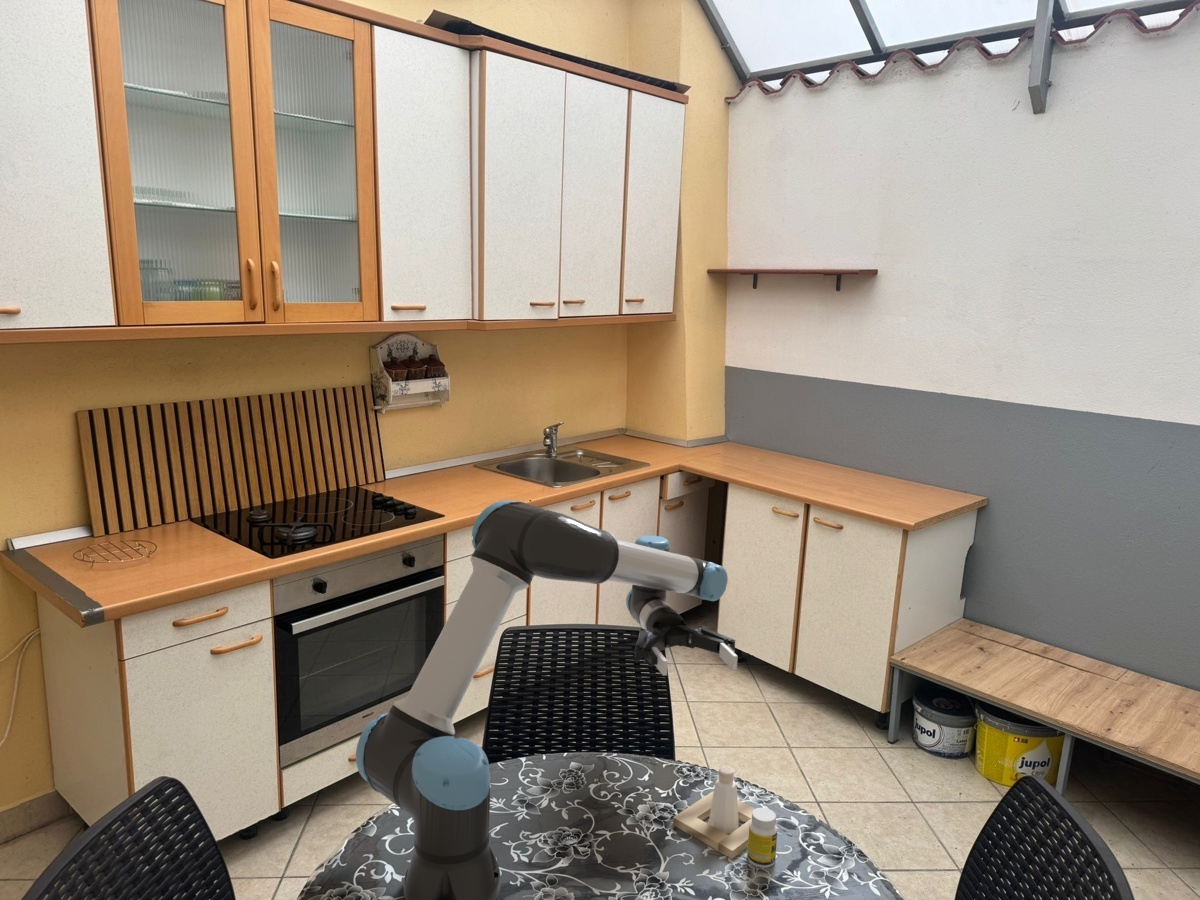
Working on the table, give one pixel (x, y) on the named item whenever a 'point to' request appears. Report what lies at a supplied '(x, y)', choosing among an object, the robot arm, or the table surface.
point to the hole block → (708, 834)
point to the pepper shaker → (725, 802)
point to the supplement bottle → (762, 838)
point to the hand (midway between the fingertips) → (700, 665)
